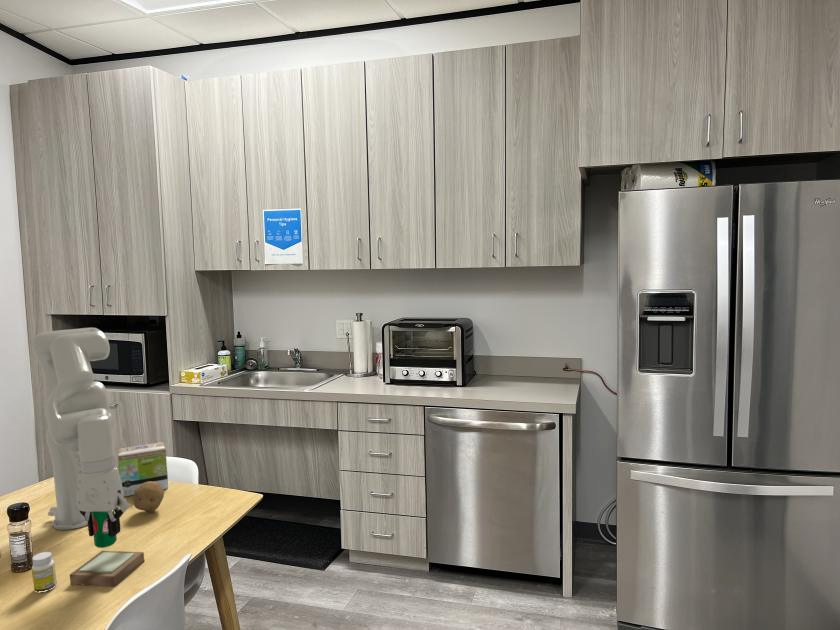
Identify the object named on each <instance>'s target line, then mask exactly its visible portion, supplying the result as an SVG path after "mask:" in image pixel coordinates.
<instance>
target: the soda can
mask: <svg viewBox="0 0 840 630" xmlns="http://www.w3.org/2000/svg"><path fill="white" fill-rule="evenodd" d="M113 511H114V510H113ZM114 512H115V511H114ZM91 515H92V525H93V544H94V546H95V547H96V548H99V549H105V548H109V547H111V546H113V545H114V544H115V543H116V542H117V540H118V538H117V536H118V535H117V534H116V535H115V536H114V537H111V536H110V531H109V522H110V521H111V519H110V517H109V514H108V512H91Z"/></svg>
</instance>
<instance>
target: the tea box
mask: <svg viewBox="0 0 840 630" xmlns="http://www.w3.org/2000/svg"><path fill="white" fill-rule="evenodd" d="M117 457H118V458H117V461H118V471H119V474H120V478H121V482H122V488H123V495H124V498H125V497H129V496H133V495H134V492H135V490H136V489H137V488H138V487H139V486H140V485H142V484H143V483H145V482H149V481H153V482H157V483H158V484H160V485H161V486H162V488H163V490H168V489H169V478H168V477H169V476H168V475H169V474H168V464H167V450H166V447H165V443H164V441H160V442H155V443H146V444H142V445H135V446H128V447H122V448H118V449H117Z"/></svg>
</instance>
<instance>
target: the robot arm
mask: <svg viewBox="0 0 840 630" xmlns="http://www.w3.org/2000/svg"><path fill="white" fill-rule="evenodd" d="M109 342H110V341H109V339H108V337H107V335H106V334H105V333H104V332H103V331H102V330H100V329H99V328H97V327H82V328H72V329H61V330H51V331H50V330H49V331H45V332H40V333H37V334H35V336H34V337H33V338H32V340H31V347H32V351H33V355H34V357H35V360H36V361H37V362H38V364H39V366H40V368H41V370H42V372H43V375H44V382H45V392H46V399H47V400H46V403H45V411H44V412H45V418H46V422H47V423H46V424H47V430H46V433H45V440H46V444H47V448H48V451H49V454H50V460H51V465H52V471H53V473H52V474H53V482H54V492H55V500H56V506H51V507H50V508H49V511H48V512H47V516H49V517H54V520H53V521H52V527H53V529H54V530H55V529H56V530H59V531H60V530H61V531H64V530H65V531H66V530H74V529H75V530H76V529H80V528H82V527H85V526H87V530H88V536H89V537H94V535H93V525H92V515H91V512H108V514H109V517H110V519H111V521H110V522H109V531H110V536H111V537H114V536H115V535H116V536H117V535H118V534H119V533H120V532H121V519H120V518H122V516H123V515H124V514H125V512H126V511H127V510H128V509H129V508H130V507H131V504H130V503H129V502H128V500H127V499H126V498H125V497H124V495H123V488H122V482H121V478H120V474H119V467H116V461H115V450H114V442H113V429H112V428H113V425H114V422H113V421H114V420H113V416H112V413H111V412H110V405H109V397H108V396H109V394H108V392H107V388H106V387H105V385H104V384H103V383H102V382H100V381H95V376H94V372H93V369H92V365H91V362H95V361H102V360H106V359H107V358H108V357H109V355H110V351H111V350H110V349H111V347H110V343H109ZM113 510H114V511H113Z"/></svg>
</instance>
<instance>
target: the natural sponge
mask: <svg viewBox="0 0 840 630" xmlns="http://www.w3.org/2000/svg"><path fill="white" fill-rule="evenodd" d="M164 490H165V489H164ZM164 490H163V488H162V486H161V485H160V484H158V483H157V482H153V481H149V482H145V483H143V484H142V485H140V486H139V487H138V488H137V489H136V490H135V492H134V495H132V504H133V506H134V507H135V509H137V510H138V511H139V510H140V511H142V512H143V511H144V512H145V513H148V514H149V513H154V512H155V511H156V510H157V509H158V508H159V507H160V505H161V503H162V501H163V500H164V495H165V491H164Z"/></svg>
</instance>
